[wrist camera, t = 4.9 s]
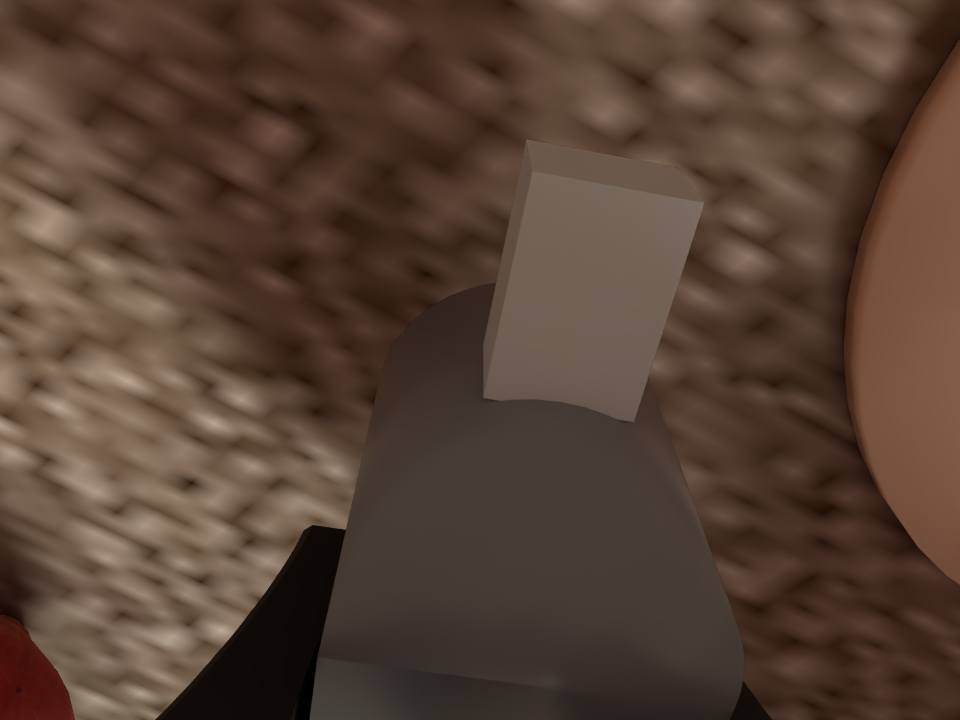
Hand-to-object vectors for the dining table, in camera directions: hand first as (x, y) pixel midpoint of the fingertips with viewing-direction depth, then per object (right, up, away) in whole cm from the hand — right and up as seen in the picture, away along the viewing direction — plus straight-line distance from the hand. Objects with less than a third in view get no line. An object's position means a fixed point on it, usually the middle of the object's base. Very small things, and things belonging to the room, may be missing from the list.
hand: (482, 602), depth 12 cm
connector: (0, +2, +1) cm, 2 cm away
